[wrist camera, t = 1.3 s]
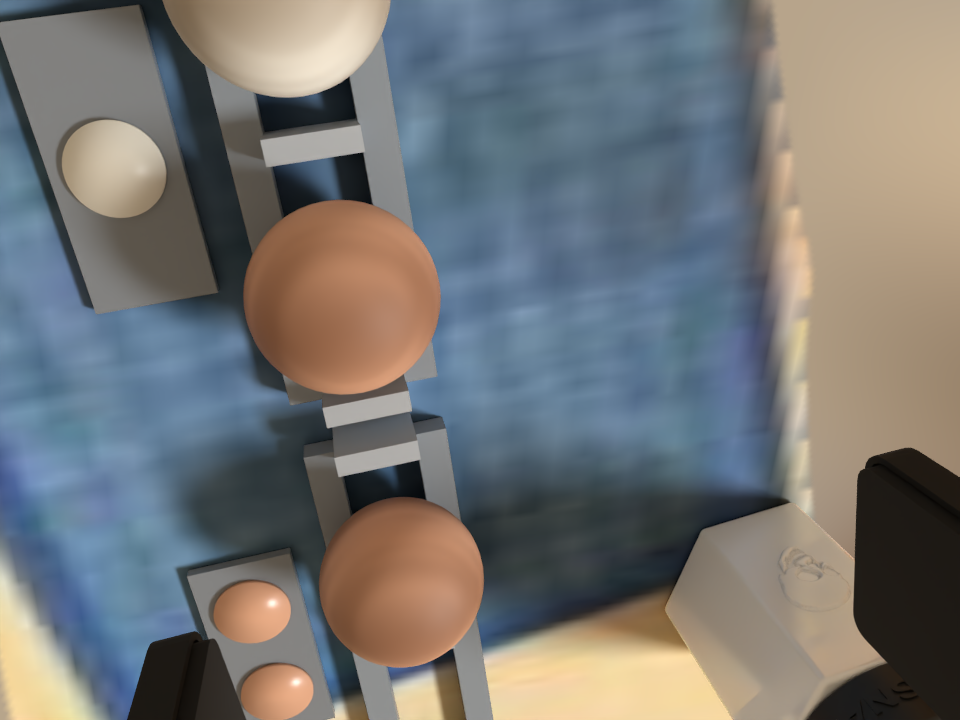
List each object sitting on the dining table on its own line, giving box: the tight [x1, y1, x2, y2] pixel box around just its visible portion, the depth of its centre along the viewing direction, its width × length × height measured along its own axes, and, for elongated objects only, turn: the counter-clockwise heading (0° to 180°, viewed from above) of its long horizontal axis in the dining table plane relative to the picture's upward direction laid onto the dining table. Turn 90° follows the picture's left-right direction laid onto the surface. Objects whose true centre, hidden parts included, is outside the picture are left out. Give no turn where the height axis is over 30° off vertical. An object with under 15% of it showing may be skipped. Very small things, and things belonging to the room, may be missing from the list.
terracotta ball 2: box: [319, 497, 484, 667], centre depth 28 cm, size 6×6×6 cm
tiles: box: [0, 5, 335, 720], centre depth 28 cm, size 29×4×1 cm, turn 7°
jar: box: [665, 503, 941, 720], centre depth 31 cm, size 9×8×12 cm
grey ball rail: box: [205, 34, 493, 720], centre depth 28 cm, size 39×5×2 cm, turn 7°
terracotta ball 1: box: [243, 200, 441, 395], centre depth 24 cm, size 6×6×6 cm
